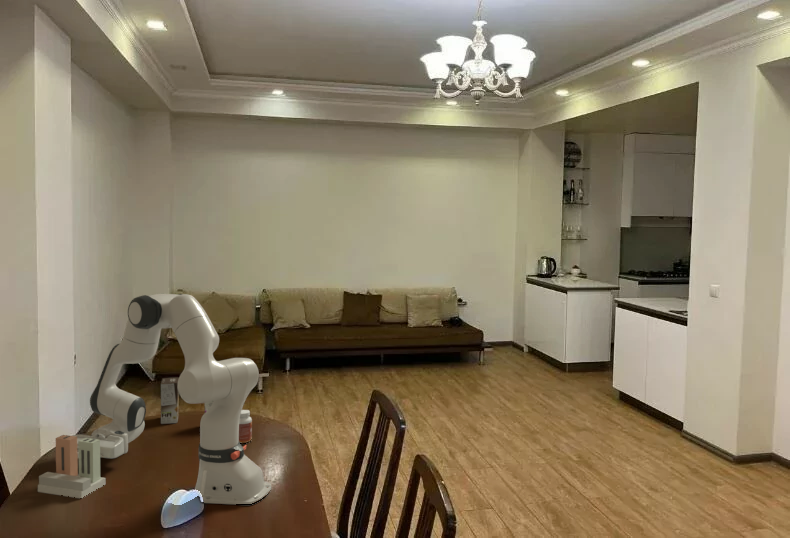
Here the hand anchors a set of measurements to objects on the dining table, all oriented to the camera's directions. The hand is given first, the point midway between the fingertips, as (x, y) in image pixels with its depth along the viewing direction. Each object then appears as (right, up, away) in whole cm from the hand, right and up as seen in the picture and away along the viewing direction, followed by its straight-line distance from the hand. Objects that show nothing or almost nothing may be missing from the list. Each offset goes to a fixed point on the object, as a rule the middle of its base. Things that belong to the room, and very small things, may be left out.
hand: (73, 455), depth 191 cm
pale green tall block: (+7, -6, -4) cm, 10 cm away
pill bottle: (+43, -6, +36) cm, 56 cm away
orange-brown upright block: (-1, -6, -2) cm, 6 cm away
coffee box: (+9, -3, +57) cm, 57 cm away
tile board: (+2, -8, -5) cm, 10 cm away
